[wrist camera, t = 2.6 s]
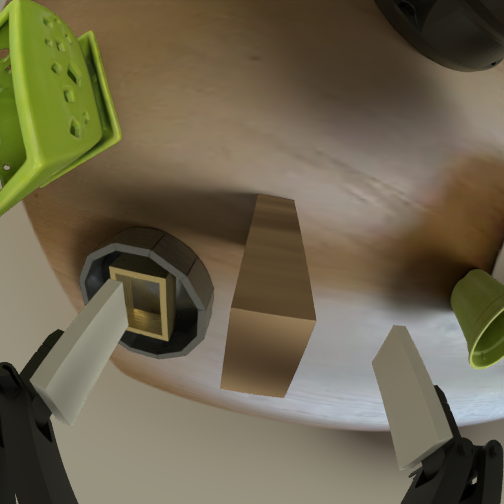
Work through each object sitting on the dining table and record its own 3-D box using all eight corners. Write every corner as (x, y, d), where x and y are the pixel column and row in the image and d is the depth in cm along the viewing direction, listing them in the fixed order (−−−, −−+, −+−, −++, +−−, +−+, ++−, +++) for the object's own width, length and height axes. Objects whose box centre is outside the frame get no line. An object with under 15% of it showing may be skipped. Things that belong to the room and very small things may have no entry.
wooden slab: (258, 193, 23) (231, 307, 9) (293, 200, 23) (316, 320, 9) (249, 247, 25) (219, 388, 12) (282, 253, 25) (284, 397, 12)
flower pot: (147, 142, 21) (43, 174, 10) (51, 195, 24) (-33, 245, 13) (110, 19, 16) (16, -13, 4) (22, 91, 18) (-63, 106, 7)
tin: (93, 218, 25) (71, 234, 21) (219, 239, 25) (209, 260, 21) (108, 318, 31) (94, 339, 27) (209, 344, 31) (202, 369, 27)
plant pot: (428, 325, 28) (456, 377, 20) (450, 256, 23) (494, 304, 16) (480, 316, 27) (509, 359, 19) (502, 254, 22) (543, 293, 15)
